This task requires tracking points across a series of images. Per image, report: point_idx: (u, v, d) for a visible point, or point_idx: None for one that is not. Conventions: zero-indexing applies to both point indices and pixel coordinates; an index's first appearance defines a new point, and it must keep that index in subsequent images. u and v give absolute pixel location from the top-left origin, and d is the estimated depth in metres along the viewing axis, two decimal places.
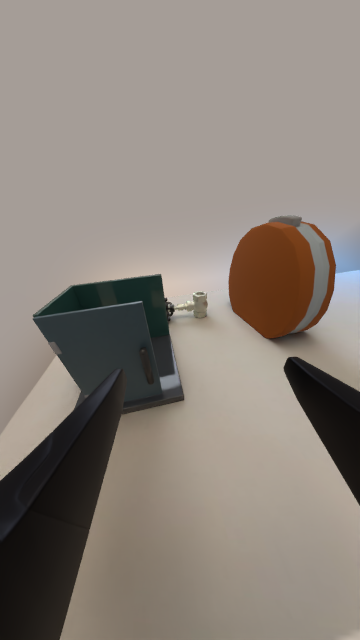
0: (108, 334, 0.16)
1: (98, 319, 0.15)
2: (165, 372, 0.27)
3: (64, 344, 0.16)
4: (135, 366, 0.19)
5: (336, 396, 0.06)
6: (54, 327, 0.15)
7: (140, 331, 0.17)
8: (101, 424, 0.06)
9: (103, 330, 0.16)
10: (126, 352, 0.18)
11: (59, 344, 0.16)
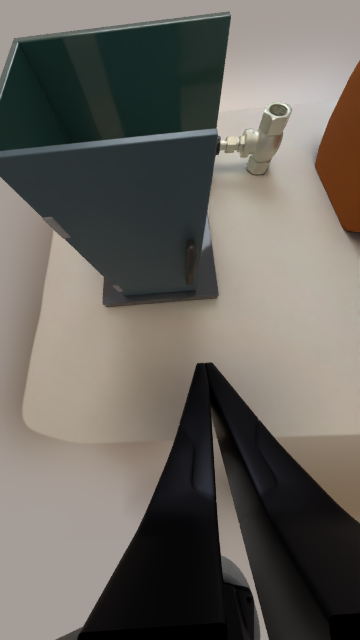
0: (138, 213, 0.09)
1: (119, 176, 0.07)
2: None
3: (70, 224, 0.10)
4: (173, 262, 0.14)
5: (219, 403, 0.06)
6: (38, 187, 0.08)
7: (193, 212, 0.10)
8: None
9: (131, 202, 0.09)
10: (164, 244, 0.12)
11: (62, 223, 0.10)
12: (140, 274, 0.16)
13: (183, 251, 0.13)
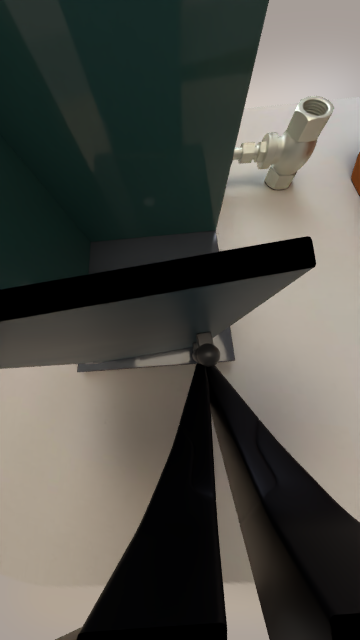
0: (87, 338, 0.04)
1: None
2: None
3: None
4: (172, 344, 0.09)
5: (219, 403, 0.06)
6: None
7: (216, 318, 0.04)
8: None
9: (57, 337, 0.03)
10: (156, 341, 0.07)
11: None
12: (122, 355, 0.11)
13: (189, 338, 0.08)
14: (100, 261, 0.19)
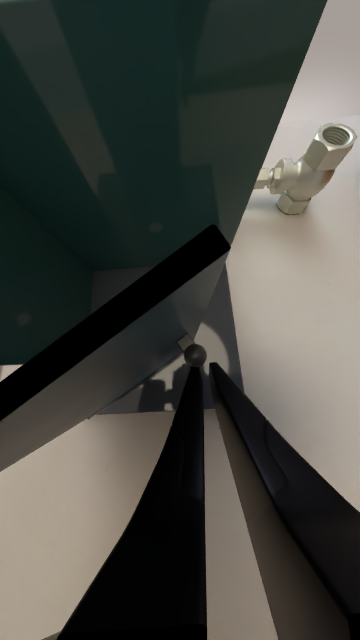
0: (63, 406, 0.03)
1: None
2: (216, 355, 0.15)
3: None
4: (161, 358, 0.09)
5: (225, 403, 0.06)
6: None
7: (182, 324, 0.04)
8: None
9: (24, 425, 0.03)
10: (142, 366, 0.06)
11: None
12: (119, 392, 0.10)
13: (173, 347, 0.07)
14: (103, 292, 0.18)
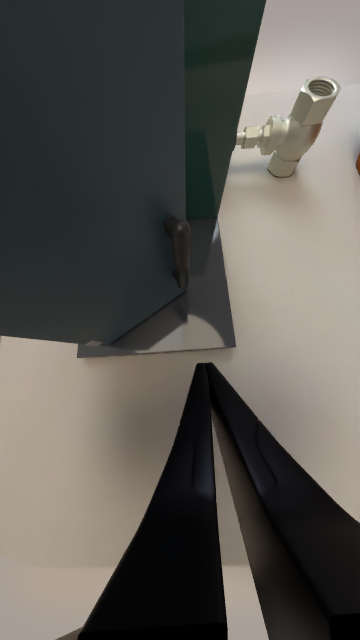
0: (64, 199, 0.04)
1: None
2: (208, 301, 0.16)
3: None
4: (153, 270, 0.10)
5: (219, 403, 0.06)
6: None
7: (162, 156, 0.05)
8: None
9: (33, 176, 0.04)
10: (133, 246, 0.07)
11: None
12: (115, 311, 0.11)
13: (162, 244, 0.08)
14: None
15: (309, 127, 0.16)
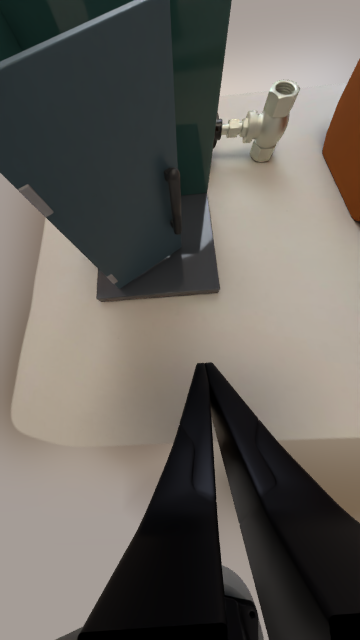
0: (115, 144, 0.09)
1: (89, 87, 0.07)
2: (199, 256, 0.21)
3: (49, 189, 0.09)
4: (156, 213, 0.14)
5: (219, 403, 0.06)
6: (5, 134, 0.06)
7: (163, 125, 0.09)
8: None
9: (106, 128, 0.08)
10: (145, 186, 0.12)
11: (41, 191, 0.08)
12: (129, 246, 0.15)
13: (163, 191, 0.13)
14: None
15: (278, 119, 0.21)
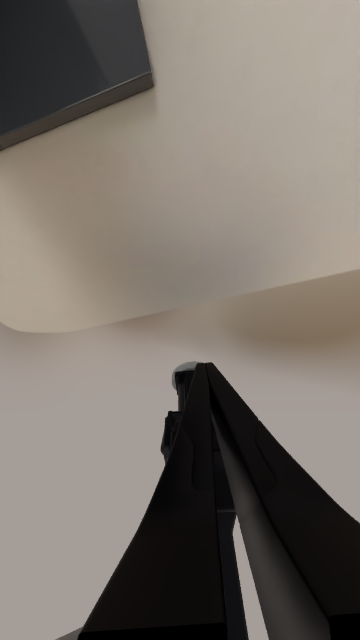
0: None
1: None
2: None
3: None
4: None
5: (219, 403, 0.06)
6: None
7: None
8: None
9: None
10: None
11: None
12: None
13: None
14: None
15: None
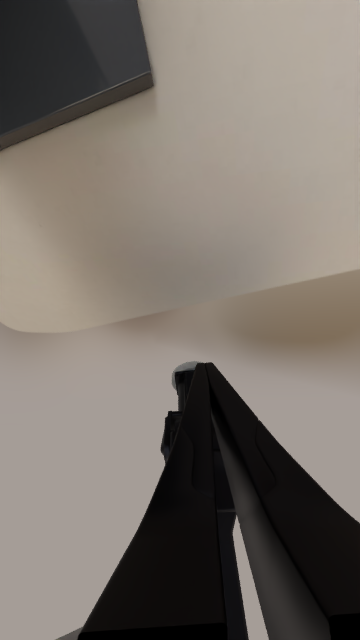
0: None
1: None
2: None
3: None
4: None
5: (219, 403, 0.06)
6: None
7: None
8: None
9: None
10: None
11: None
12: None
13: None
14: None
15: None
